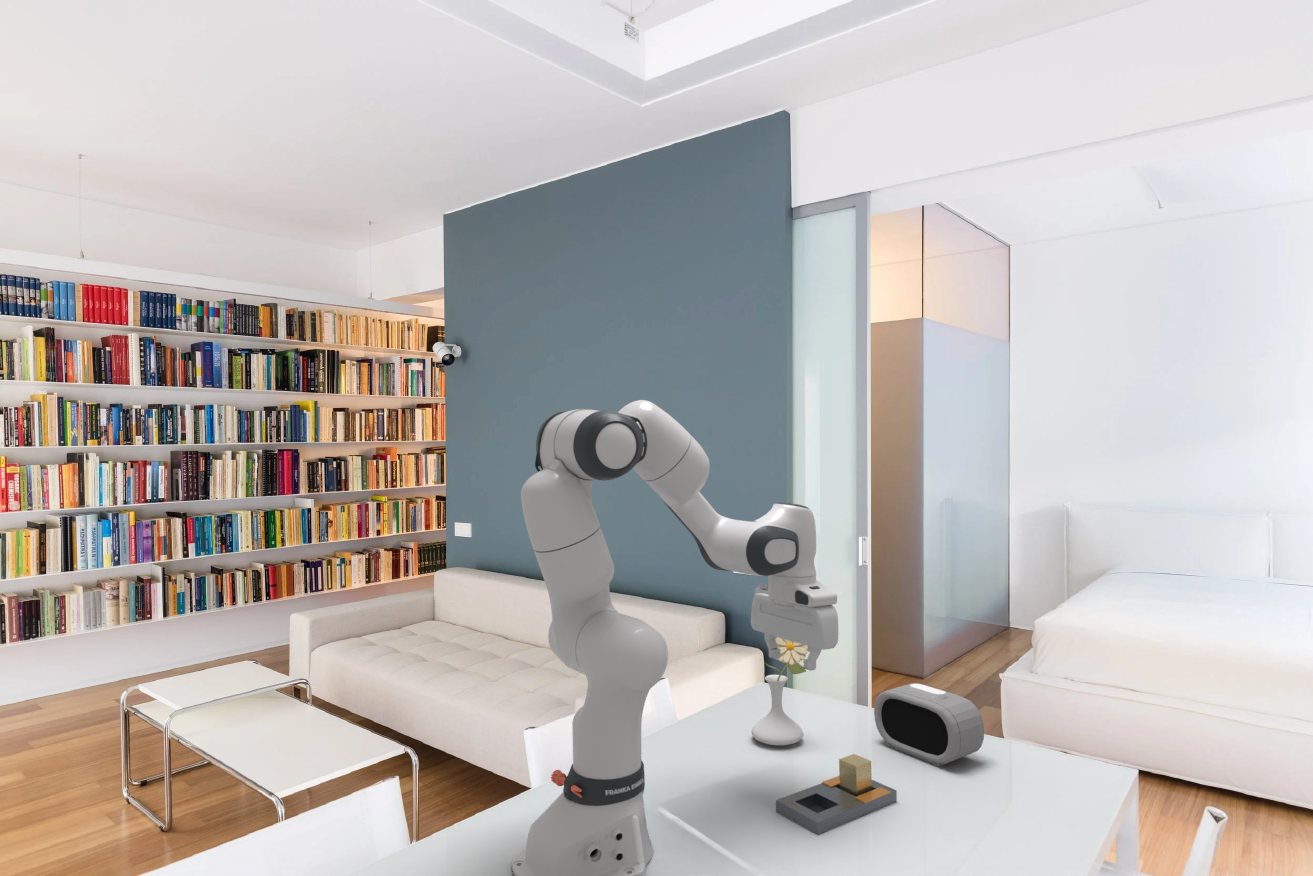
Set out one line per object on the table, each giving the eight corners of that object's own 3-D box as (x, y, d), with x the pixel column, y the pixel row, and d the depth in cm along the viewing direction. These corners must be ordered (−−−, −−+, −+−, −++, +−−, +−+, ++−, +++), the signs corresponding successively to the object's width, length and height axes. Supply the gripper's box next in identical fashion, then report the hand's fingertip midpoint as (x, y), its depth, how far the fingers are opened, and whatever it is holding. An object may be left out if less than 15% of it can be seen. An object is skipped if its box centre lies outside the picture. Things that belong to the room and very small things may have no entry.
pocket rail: (818, 841, 128) (817, 821, 128) (776, 817, 136) (775, 799, 136) (896, 807, 139) (896, 789, 139) (853, 787, 147) (853, 770, 147)
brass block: (856, 806, 137) (856, 766, 137) (839, 797, 141) (839, 759, 141) (872, 800, 140) (871, 761, 140) (854, 792, 143) (854, 754, 143)
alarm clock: (873, 742, 169) (872, 681, 169) (902, 733, 174) (901, 673, 174) (955, 775, 152) (954, 707, 152) (984, 764, 157) (983, 697, 157)
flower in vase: (745, 746, 168) (743, 631, 168) (759, 728, 178) (757, 619, 179) (805, 755, 163) (803, 636, 163) (815, 735, 173) (813, 624, 173)
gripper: (743, 583, 152) (742, 653, 152) (819, 599, 135) (818, 679, 135) (767, 580, 156) (767, 649, 155) (844, 596, 138) (844, 674, 138)
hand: (791, 663), depth 145 cm, fingers open, 8 cm apart
